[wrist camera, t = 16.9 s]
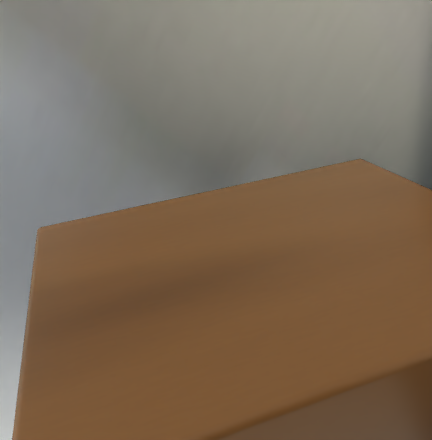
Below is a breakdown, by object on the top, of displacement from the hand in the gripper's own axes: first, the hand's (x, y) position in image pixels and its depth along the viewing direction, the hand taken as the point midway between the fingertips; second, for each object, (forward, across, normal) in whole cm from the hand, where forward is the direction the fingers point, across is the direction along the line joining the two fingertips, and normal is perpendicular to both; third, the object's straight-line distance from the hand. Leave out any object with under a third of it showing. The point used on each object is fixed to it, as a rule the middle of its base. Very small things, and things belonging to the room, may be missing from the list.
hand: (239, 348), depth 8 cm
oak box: (0, 0, 0) cm, 1 cm away
